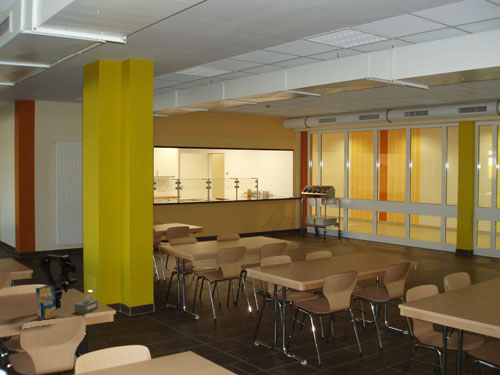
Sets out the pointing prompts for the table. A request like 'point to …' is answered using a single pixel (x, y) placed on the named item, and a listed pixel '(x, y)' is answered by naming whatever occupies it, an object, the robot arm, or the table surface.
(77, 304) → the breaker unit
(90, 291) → the breaker lever
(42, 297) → the blue cracker box
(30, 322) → the table surface
